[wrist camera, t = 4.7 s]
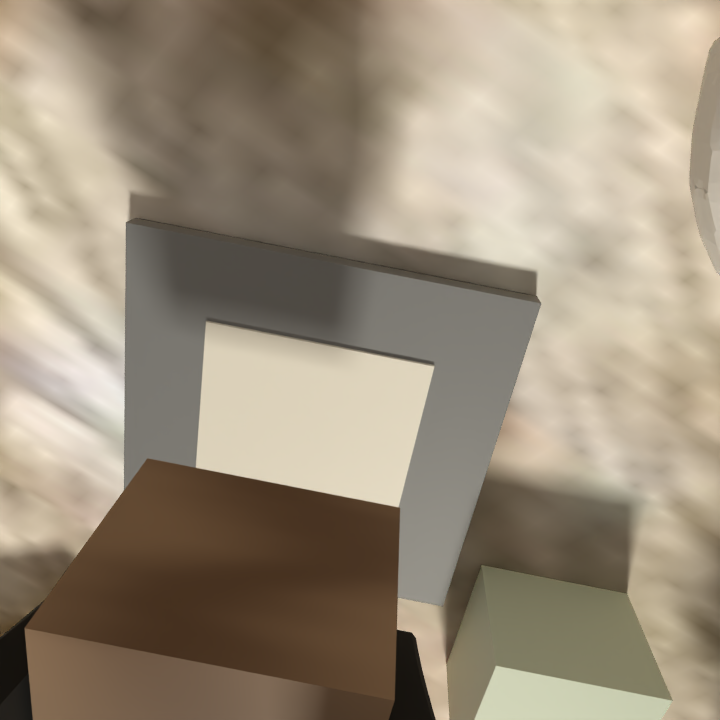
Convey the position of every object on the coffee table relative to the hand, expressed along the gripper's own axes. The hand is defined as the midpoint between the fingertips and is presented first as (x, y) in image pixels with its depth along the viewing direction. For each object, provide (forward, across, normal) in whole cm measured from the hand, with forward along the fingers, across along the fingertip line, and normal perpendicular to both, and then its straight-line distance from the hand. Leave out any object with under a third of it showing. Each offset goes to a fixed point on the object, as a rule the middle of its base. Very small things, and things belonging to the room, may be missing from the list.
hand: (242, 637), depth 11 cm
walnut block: (+1, 0, 0) cm, 1 cm away
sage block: (+8, -9, +6) cm, 14 cm away
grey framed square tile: (+8, 0, 0) cm, 8 cm away
